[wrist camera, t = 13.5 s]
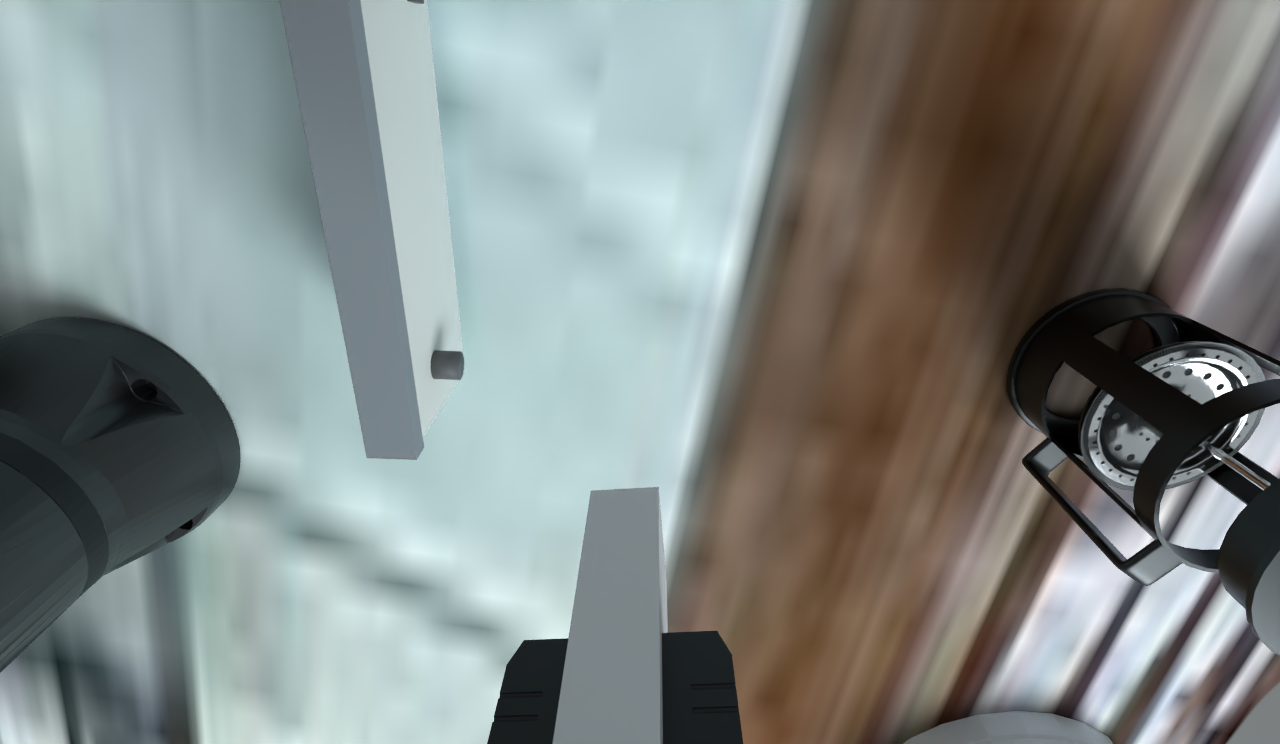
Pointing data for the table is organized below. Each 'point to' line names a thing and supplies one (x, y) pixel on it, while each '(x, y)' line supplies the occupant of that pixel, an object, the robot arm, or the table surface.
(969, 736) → the dish
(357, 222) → the grey long flat block
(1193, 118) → the table surface
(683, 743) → the robot arm
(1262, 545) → the french press
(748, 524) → the table surface
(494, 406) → the table surface
